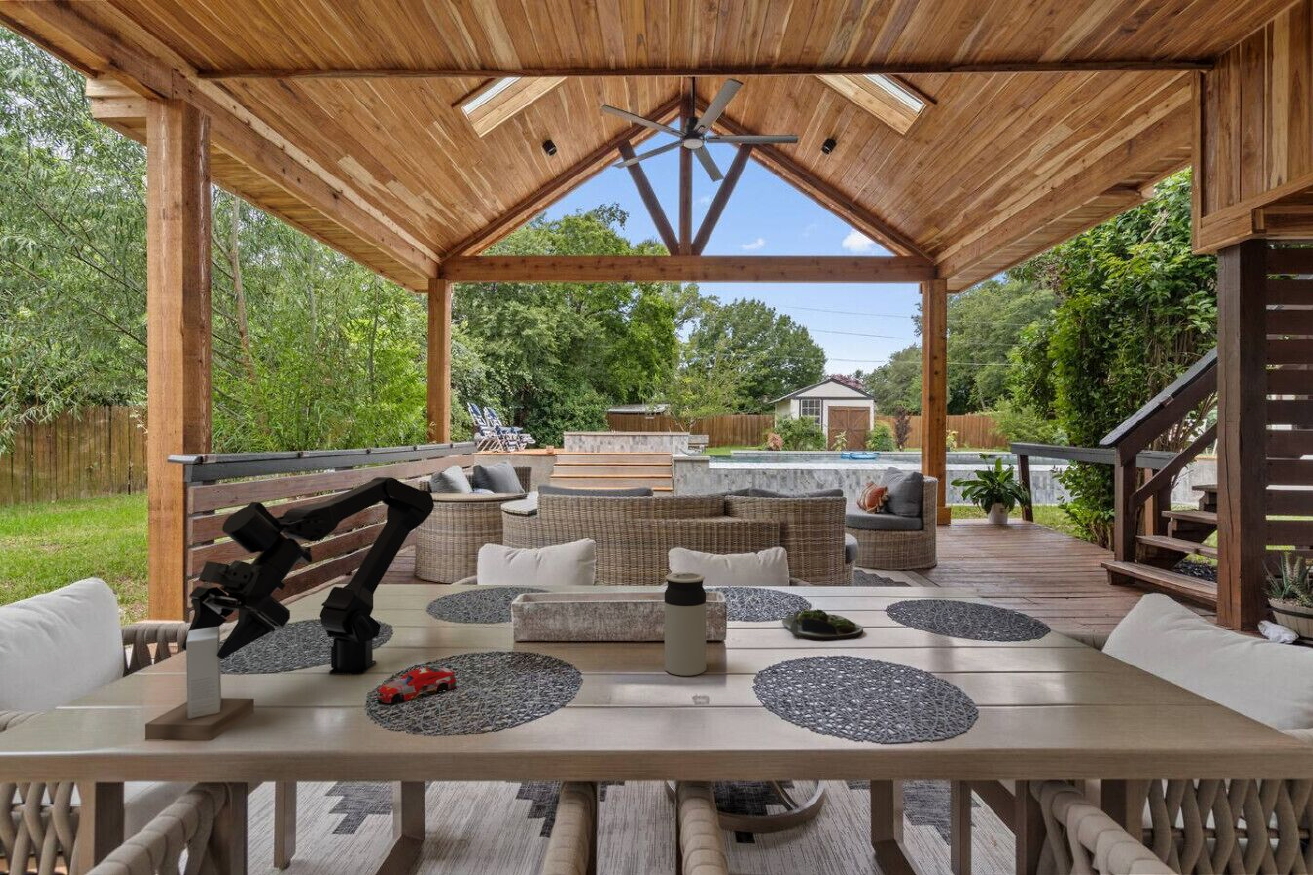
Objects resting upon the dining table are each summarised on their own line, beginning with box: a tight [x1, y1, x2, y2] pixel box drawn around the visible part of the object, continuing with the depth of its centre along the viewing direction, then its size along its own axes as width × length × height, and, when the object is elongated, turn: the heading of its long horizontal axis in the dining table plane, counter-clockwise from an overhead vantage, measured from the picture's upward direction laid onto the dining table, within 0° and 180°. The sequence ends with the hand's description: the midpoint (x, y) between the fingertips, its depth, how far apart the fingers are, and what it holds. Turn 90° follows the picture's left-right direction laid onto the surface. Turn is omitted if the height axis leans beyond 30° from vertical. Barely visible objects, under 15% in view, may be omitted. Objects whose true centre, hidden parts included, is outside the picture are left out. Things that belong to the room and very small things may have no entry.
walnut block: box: [144, 697, 255, 741], centre depth 104 cm, size 10×10×3 cm
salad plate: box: [781, 608, 864, 642], centre depth 156 cm, size 19×18×5 cm
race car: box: [376, 666, 457, 705], centre depth 117 cm, size 13×5×4 cm, turn 128°
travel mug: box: [664, 571, 707, 677], centre depth 128 cm, size 8×8×18 cm
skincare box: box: [185, 626, 222, 719], centre depth 104 cm, size 6×4×12 cm
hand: (201, 653), depth 104 cm, fingers open, 9 cm apart
